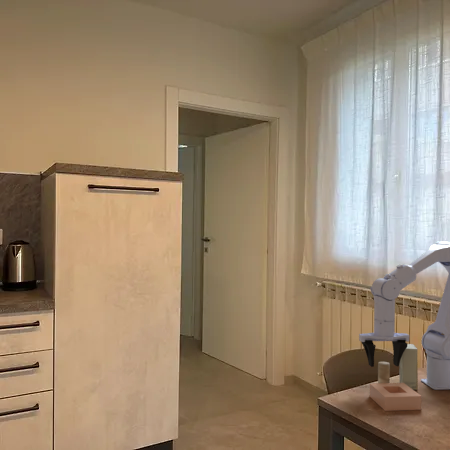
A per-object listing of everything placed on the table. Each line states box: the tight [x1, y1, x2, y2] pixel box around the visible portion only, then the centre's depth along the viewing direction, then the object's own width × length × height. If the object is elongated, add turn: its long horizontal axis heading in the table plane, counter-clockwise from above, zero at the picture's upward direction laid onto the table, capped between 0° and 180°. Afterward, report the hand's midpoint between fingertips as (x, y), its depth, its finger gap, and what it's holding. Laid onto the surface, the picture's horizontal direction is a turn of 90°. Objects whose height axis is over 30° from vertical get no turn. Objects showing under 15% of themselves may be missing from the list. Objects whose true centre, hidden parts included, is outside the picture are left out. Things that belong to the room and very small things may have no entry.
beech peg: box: [377, 361, 391, 383], centre depth 132 cm, size 3×3×8 cm
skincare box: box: [398, 343, 419, 391], centre depth 136 cm, size 6×4×12 cm
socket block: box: [369, 382, 423, 412], centre depth 123 cm, size 10×10×4 cm
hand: (383, 365), depth 132 cm, fingers open, 7 cm apart
